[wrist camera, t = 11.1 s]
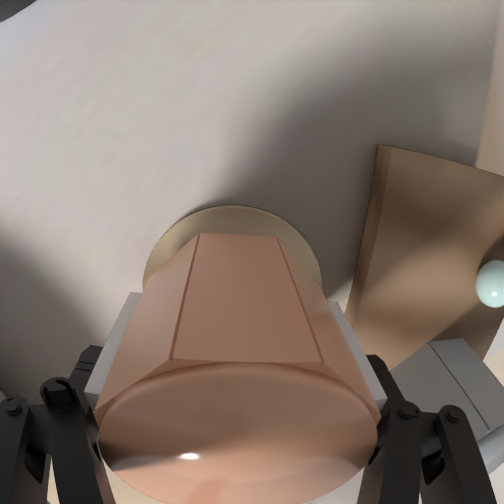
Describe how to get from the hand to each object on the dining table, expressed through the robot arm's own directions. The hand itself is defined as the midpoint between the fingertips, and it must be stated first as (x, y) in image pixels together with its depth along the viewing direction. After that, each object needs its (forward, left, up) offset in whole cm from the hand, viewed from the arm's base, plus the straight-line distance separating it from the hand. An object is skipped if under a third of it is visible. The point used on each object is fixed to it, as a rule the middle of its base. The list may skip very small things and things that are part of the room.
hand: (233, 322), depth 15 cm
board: (+1, +14, -3) cm, 14 cm away
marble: (-3, +15, -1) cm, 15 cm away
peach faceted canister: (0, 0, -1) cm, 1 cm away
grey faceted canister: (+7, +15, -1) cm, 17 cm away
